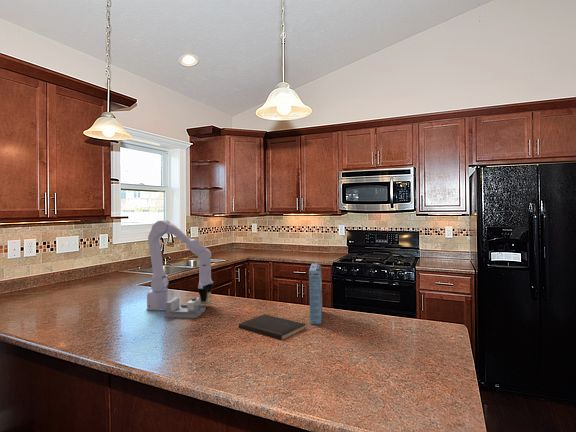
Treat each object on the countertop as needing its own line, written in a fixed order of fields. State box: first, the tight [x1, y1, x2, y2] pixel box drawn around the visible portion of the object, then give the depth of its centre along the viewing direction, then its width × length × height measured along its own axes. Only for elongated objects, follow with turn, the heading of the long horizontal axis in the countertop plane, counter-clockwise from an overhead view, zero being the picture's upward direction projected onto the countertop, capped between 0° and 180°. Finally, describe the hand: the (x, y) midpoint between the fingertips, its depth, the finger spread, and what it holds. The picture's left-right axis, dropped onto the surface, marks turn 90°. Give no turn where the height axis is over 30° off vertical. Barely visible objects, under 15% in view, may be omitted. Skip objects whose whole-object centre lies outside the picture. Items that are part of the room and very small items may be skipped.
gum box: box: [308, 263, 323, 325], centre depth 156 cm, size 20×5×23 cm, turn 172°
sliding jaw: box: [186, 296, 202, 311], centre depth 164 cm, size 3×9×6 cm, turn 174°
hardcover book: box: [238, 313, 307, 341], centre depth 143 cm, size 16×23×2 cm
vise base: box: [164, 296, 207, 319], centre depth 165 cm, size 15×12×6 cm
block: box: [199, 291, 212, 305], centre depth 176 cm, size 4×5×5 cm
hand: (205, 299), depth 176 cm, fingers closed on block, 5 cm apart
